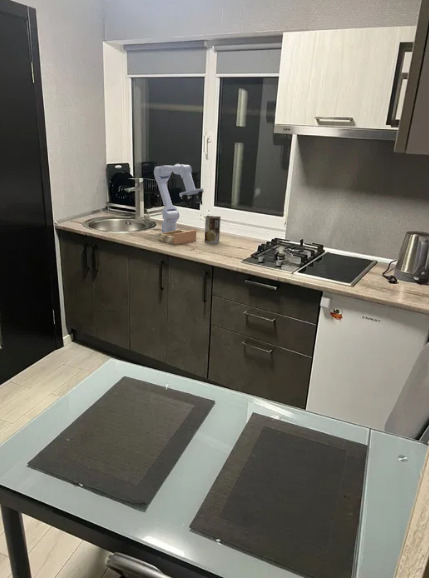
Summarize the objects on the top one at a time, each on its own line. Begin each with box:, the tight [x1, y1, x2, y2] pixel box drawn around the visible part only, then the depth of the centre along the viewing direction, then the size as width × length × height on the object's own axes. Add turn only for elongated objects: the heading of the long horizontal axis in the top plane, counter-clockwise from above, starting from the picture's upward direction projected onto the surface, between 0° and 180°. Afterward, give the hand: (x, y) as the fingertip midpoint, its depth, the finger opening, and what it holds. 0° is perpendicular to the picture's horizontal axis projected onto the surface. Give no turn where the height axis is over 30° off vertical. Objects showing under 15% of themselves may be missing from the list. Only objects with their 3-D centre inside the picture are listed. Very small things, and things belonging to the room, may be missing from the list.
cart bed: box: [158, 229, 187, 245], centre depth 266 cm, size 13×18×4 cm
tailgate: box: [172, 229, 197, 245], centre depth 261 cm, size 1×18×6 cm, turn 136°
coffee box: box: [204, 215, 222, 244], centre depth 266 cm, size 9×6×16 cm
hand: (195, 205), depth 254 cm, fingers open, 7 cm apart
